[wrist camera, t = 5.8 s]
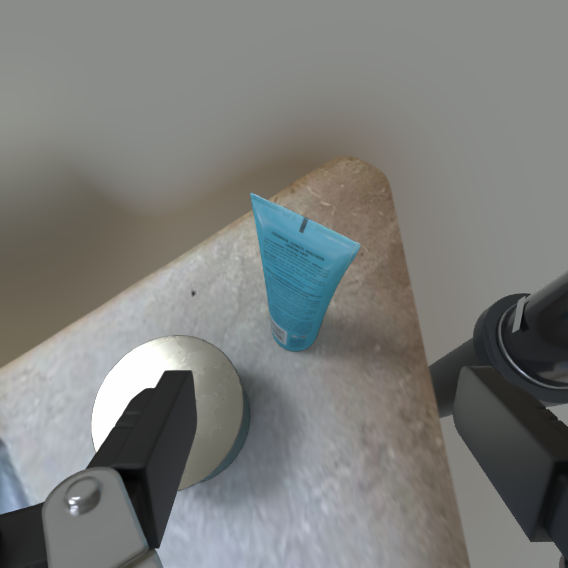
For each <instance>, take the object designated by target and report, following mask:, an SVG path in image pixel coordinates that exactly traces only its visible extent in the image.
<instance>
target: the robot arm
mask: <svg viewBox="0 0 568 568" xmlns="http://www.w3.org/2000/svg"><path fill="white" fill-rule="evenodd" d="M495 334H496V342H497V346H498V349H499V351H500V353H501V355H502V357H503V359H504V360H505V362H506V363H507V364H508V365H509V367H510V368H511V369H512V370H513V371H514V372H515V373H516V374H518V375H519V376H520V377H521V378H523V379H524V380H526V381H528V382H529V383H531V384H533V385H536V386H538V387H541V388H545V389H550V390H563V389H568V270H567V271H565V272H564V273H562V274H561V275H560V276H558V277H556V278H555V279H553V280H552V281H550V282H549V283H547V284H546V285H544V286H543V287H541V288H540V289H539V290H537V291H535V292H534V293H533V294H531V295H529V296H528V297H526V298H525V296H524V297H523V298H521V299H520V300H518V303H516V304H515V305H513V306H511V307H510V308H508V309H507V310H506V311H505V312H503V314H502V315H501V316H500V318H499V320H498V322H497V325H496V332H495ZM453 418H454V423H455V427H456V429H457V431H458V433H459V435H460V436H461V437H462V439H463V441H464V442H465V444H466V445H467V447H468V448H469V450H470V451H471V452H472V454H473V456H474V457H475V458H476V460H477V461H478V463H479V465H480V466H481V468H482V469H483V471H484V472H485V474H486V475H487V477H488V478H489V480H490V481H491V483H492V484H493V486H494V487H495V489H496V490H497V492H498V493H499V495H500V496H501V498H502V499H503V501H504V502H505V504H506V505H507V507H508V508H509V510H510V511H511V513H512V514H513V516H514V517H515V519H516V520H517V522H518V523H519V525H520V526H521V528H522V529H523V531H524V532H525V534H526V535H527V537H528V538H529V540H530V542H554V543H555V545H556V546H557V547H558V549H559V550H560V551H561V553H562V555H561V558H560V562H559V568H568V427H567V426H566V425H565V424H564V423H563V422H562V421H558V418H557V417H556V416H555V415H554V414H553V413H552V412H551V411H550V410H549V409H546V407H545V406H544V405H543V404H542V403H541V402H540V401H539V400H538V399H537V398H535V397H534V396H533V395H532V394H531V393H529V392H527V391H525V390H524V389H522V388H520V387H518V386H517V385H515V384H513V383H509V382H508V381H507V380H506V379H505V378H504V377H503V376H502V375H501V374H500V373H499V372H498V371H497V370H496V369H495V368H493V367H491V366H464V367H462V369H461V370H460V373H459V379H458V385H457V391H456V396H455V402H454V408H453ZM196 429H197V407H196V397H195V388H194V378H193V373H192V371H191V370H165V371H164V372H163V374H162V376H161V377H160V379H159V381H158V383H157V384H156V386H155V388H145V389H143V390H142V391H141V392H140V393H138V394H137V395H136V396H134V397H133V398H132V399H131V400H130V401H129V403H128V405H127V406H126V408H125V409H124V411H123V412H122V415H120V417H119V418H118V420H117V422H116V423H115V427H113V428H112V429H111V431H110V432H109V434H108V435H107V437H106V439H105V440H104V442H103V443H102V445H101V446H100V448H99V449H98V451H97V452H96V454H95V456H94V457H93V459H92V460H91V462H90V463H89V465H88V466H87V468H86V469H85V470H82V471H80V472H77V473H75V474H73V475H71V476H70V477H68V478H67V479H65V480H64V481H62V482H61V483H60V484H59V485H58V486H56V487H55V488H54V489H53V491H52V492H51V493H50V494H49V495H48V497H47V499H46V500H45V502H43V503H40V504H37V505H34V506H30V507H27V508H23V509H19V510H16V511H12V512H8V513H5V514H1V515H0V568H163V565H162V563H161V561H160V558H159V556H158V554H157V552H156V550H155V549H154V548H159V547H160V544H161V541H162V538H163V535H164V532H165V529H166V525H167V522H168V519H169V516H170V513H171V510H172V507H173V504H174V500H175V497H176V494H177V491H178V488H179V485H180V482H181V479H182V475H183V472H184V469H185V466H186V463H187V460H188V457H189V454H190V450H191V447H192V444H193V441H194V438H195V434H196Z"/></svg>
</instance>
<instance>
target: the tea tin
mask: <svg viewBox="0 0 568 568" xmlns="http://www.w3.org/2000/svg"><path fill="white" fill-rule="evenodd" d="M165 370H191V371H192V373H193V378H194V388H195V397H196V407H197V429H196V434H195V438H194V441H193V444H192V447H191V450H190V454H189V457H188V460H187V463H186V466H185V469H184V472H183V475H182V479H181V482H180V485H179V488H178V491H181V490H184V489H186V488H189V487H191V486H193V485H195V484H197V483H200V482H203V481H206V480H208V479H211V478H212V477H214V476H216V475H218V474H219V473H221V472H222V471H223V470H225V469H226V468H227V467H228V466H229V465H230V464H231V463H232V462H233V460H234V459H235V458H236V457H237V455H238V454H239V452H240V450H241V449H242V447H243V445H244V443H245V440H246V437H247V434H248V429H249V423H250V408H249V402H248V399H247V395H246V393H245V391H244V388H243V387H242V384H241V380H240V378H239V375H238V373H237V371H236V369H235V367H234V366H233V364H232V362H231V361H230V360H229V359H228V357H227V356H226V355H225V354H224V353H223V352H222V351H221V350H220V349H218V348H217V347H215V346H214V345H212V344H211V343H209V342H207V341H205V340H202V339H199V338H196V337H191V336H182V335H175V336H166V337H161V338H157V339H154V340H151V341H149V342H146V343H144V344H142V345H140V346H139V347H137V348H135V349H133V350H132V351H131V352H129V353H128V354H127V355H125V356H124V357H123V358H122V359H121V360H120V361H119V362H118V363H117V364H116V365H115V366H114V368H113V369H112V370H111V371H110V373H109V374H108V375H107V377H106V378H105V380H104V382H103V384H102V385H101V387H100V390H99V392H98V394H97V397H96V400H95V403H94V407H93V412H92V420H91V432H92V440H93V445H94V449H95V452H97V451H98V449H99V448H100V446H101V445H102V443H103V442H104V440H105V439H106V437H107V435H108V434H109V432H110V431H111V429H112V428H113V427H115V423H116V422H117V420H118V418H119V417H120V415H122V412H123V411H124V409H125V408H126V406H127V405H128V403H129V401H130V400H131V399H132V398H133V397H134V396H136V395H137V394H138V393H140V392H141V391H142V390H143V389H145V388H155V386H156V384H157V383H158V381H159V379H160V377H161V376H162V374H163V372H164V371H165Z"/></svg>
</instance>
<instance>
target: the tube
mask: <svg viewBox="0 0 568 568" xmlns="http://www.w3.org/2000/svg"><path fill="white" fill-rule="evenodd" d="M250 195H251V202H252V208H253V213H254V218H255V223H256V229H257V235H258V240H259V246H260V252H261V258H262V264H263V271H264V277H265V284H266V290H267V297H268V304H269V312H270V319H271V327H272V333H273V336H274V339H275V340H276V342H277V343H278V344H279V345H280V346H281V347H283V348H284V349H286V350H289V351H301V350H304V349H307V348H308V347H309V346H311V345H312V344H313V342H314V341H315V339H316V337H317V334H318V331H319V329H320V326H321V323H322V321H323V318H324V315H325V313H326V310H327V308H328V305H329V303H330V301H331V298H332V296H333V294H334V292H335V290H336V288H337V286H338V284H339V282H340V280H341V278H342V276H343V275H344V273H345V271H346V270H347V268H348V266H349V265H350V263H351V262H352V261H353V260H354V258H355V257H356V255H357V253H358V251H359V249H360V246H361V245H360V244H359V243H357V242H355V241H353V240H351V239H349V238H347V237H345V236H343V235H341V234H339V233H337V232H335V231H333V230H331V229H329V228H327V227H325V226H323V225H320V224H318V223H316V222H314V221H312V220H310V219H308V218H306V217H304V216H302V215H300V214H298V213H295V212H294V211H291V210H289V209H287V208H285V207H283V206H280V205H278V204H276V203H273V202H270V201H268V200H266V199H263V198H262V197H259V196H257V195H255V194H253V193H251V194H250Z"/></svg>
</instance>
